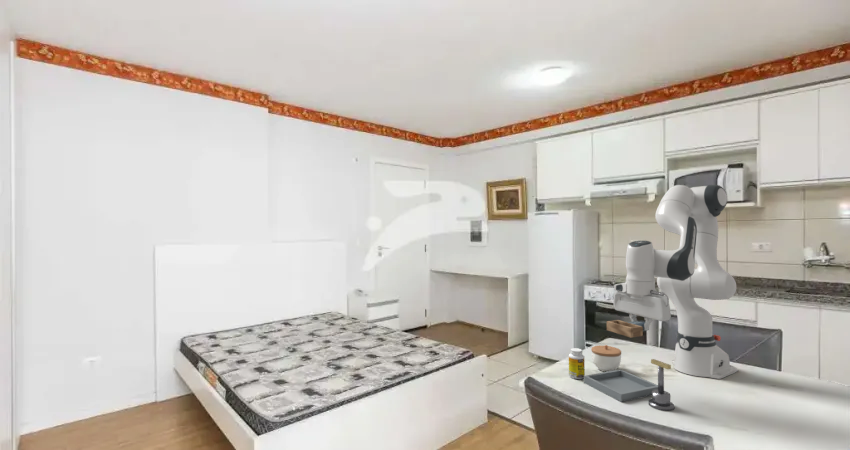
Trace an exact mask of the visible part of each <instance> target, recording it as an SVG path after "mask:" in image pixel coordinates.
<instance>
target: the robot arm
mask: <svg viewBox="0 0 850 450" xmlns="http://www.w3.org/2000/svg"><path fill="white" fill-rule="evenodd" d="M727 204H728V195H727V192H726V189H724V188H723V186H721V185H719V184H708V185H703V186H702V185H701V186H700V185H699V186H693V187H689V186H686V185H683V184H675V185H673V186H671V187H669V189H668V190H667V191H666V193H665V194H664V195H663V196H662V198H661V200H660V201H659V204H658V206H657V208H656V211H655V213H654V214H655V215H654V217H655V221H656V223H657V224H658V225H659V226H660V228H662V229H663V230H664V231H666V232H669V233H673V234H676V235H679V236H680V238H679V246H678V248H677V249H672V250H670V249H669V250H668V249H655V248H654V245H653V242H652V241H651V240H650V241H649V240H633V241H630V242H629V243H628V244H627V247H626V253H625V269H626V276H625V281H624V282H622V283H617V284H614V285H613V290H614V293H613V300H612V301H613V303H612V304H613V308H614V310H615V311H617V312H622V313H626V314H628V315H629V318H630V322H633V321H638V319H637V317H643V318H644V320H643V321H645V324H642V327H643V330H646V331H645V332H647V331H650V325H651V323H652V322H653V320H655V321H659V322H668V321H670V320H671V316H672V313H671V306H670V301H671V302H672V304H673V306H674V308H675V310H676V316H677V331H676V343H675V351H674V359H673V360H671V361H672V362H671V363H672V365H673V368H674V370H676V371H678V372H680V373H682V374H686V375H690V376H694V377H695V376H696V377H702V378H710V379H711V378H712V379H715V380H717V379H718V380H721V379H723V378H725V377H728V376H730V375H732V374H735V373H737V372H738V371H739V370H738V367H736V366H734V365H732V364H731V363H730V361H731V360H730V357H729V356H730V355H729V354H728V353H727V352H725V350H723V349H722V348H721V347H719V346H718V345H717V342H720V341H721V339H722V337H721V335H718V334H714V333H713V316H712V314H711V312H709V311H708V310H707V309H706V308H703V307H702V306H700V305H698V303H697V302H696V301H695V299H701V300H711V301H721V300H722V301H723V300H730V299H731V298H732V297H734V295H735V293H736V291H737V283H736V280H735V278H734V277H733V276H732V275H731V273H729V272H727V270H725V269H724V268H723V267H722V266H721V264H720V263H719V260H718V255H717V254H718V241H719V240H718V239H719V224H718V223H719V222H718V218H717V217H719V216H720V215H721V213H722V212H723V210H724V209H726V206H727ZM695 265H697V267H696V268H695ZM656 284H657V287H658V289H659V291H657V290H656ZM716 341H717V342H716Z"/></svg>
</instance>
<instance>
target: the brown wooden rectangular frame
mask: <svg viewBox="0 0 850 450" xmlns="http://www.w3.org/2000/svg"><path fill="white" fill-rule="evenodd" d="M645 322H646V320H637V321H633V322H632V321H624V320H620V319H614V320H608V321H606V331H608V332H612V333H616V334H617V335H622V336H624V337H628V338H636V337H637V338H638V337H643V334H644V332H647V331H646V330H643V327H642V324H645Z"/></svg>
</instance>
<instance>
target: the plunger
mask: <svg viewBox="0 0 850 450" xmlns="http://www.w3.org/2000/svg"><path fill="white" fill-rule="evenodd" d="M650 363H651V364H652V365H655V366H657V385H658V390H653V391H652V396H651V398H649V399H648V406H650V407H651V408H653V409H655V410H659V411H662V412H663V411H665V412H669V411H674V410H675V404H674V403H673V402H672V401H671V393H670V392H668V391H666V390H665V378H664V377H665V373H664V372H665V369H666V370H671V369H672V365H671V364H669V363H666V362H664V361H662V360H658V359H656V358H651V360H650Z"/></svg>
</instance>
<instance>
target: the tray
mask: <svg viewBox="0 0 850 450" xmlns="http://www.w3.org/2000/svg"><path fill="white" fill-rule="evenodd" d="M583 384H585V385H588V387H591V388H593V389H595V390H597V391H599V392H601V393H603V394H605V395H606V396H609V397H611V398H613V399H614V400H616V401H618V402H620V403H624V402H628V401H634V400H638V399H643V398H647V397H652V391H653V390H658V384H656V383H653V382H651V381H648V380H647V379H644V378H641V377H639V376H637V375H635V374H632V373H630V372H628V371H626V370H623V369H615V370H614V371H608V372H605V371H602V372H598V373H593V374H586V375H585V376H584V378H583Z"/></svg>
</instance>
